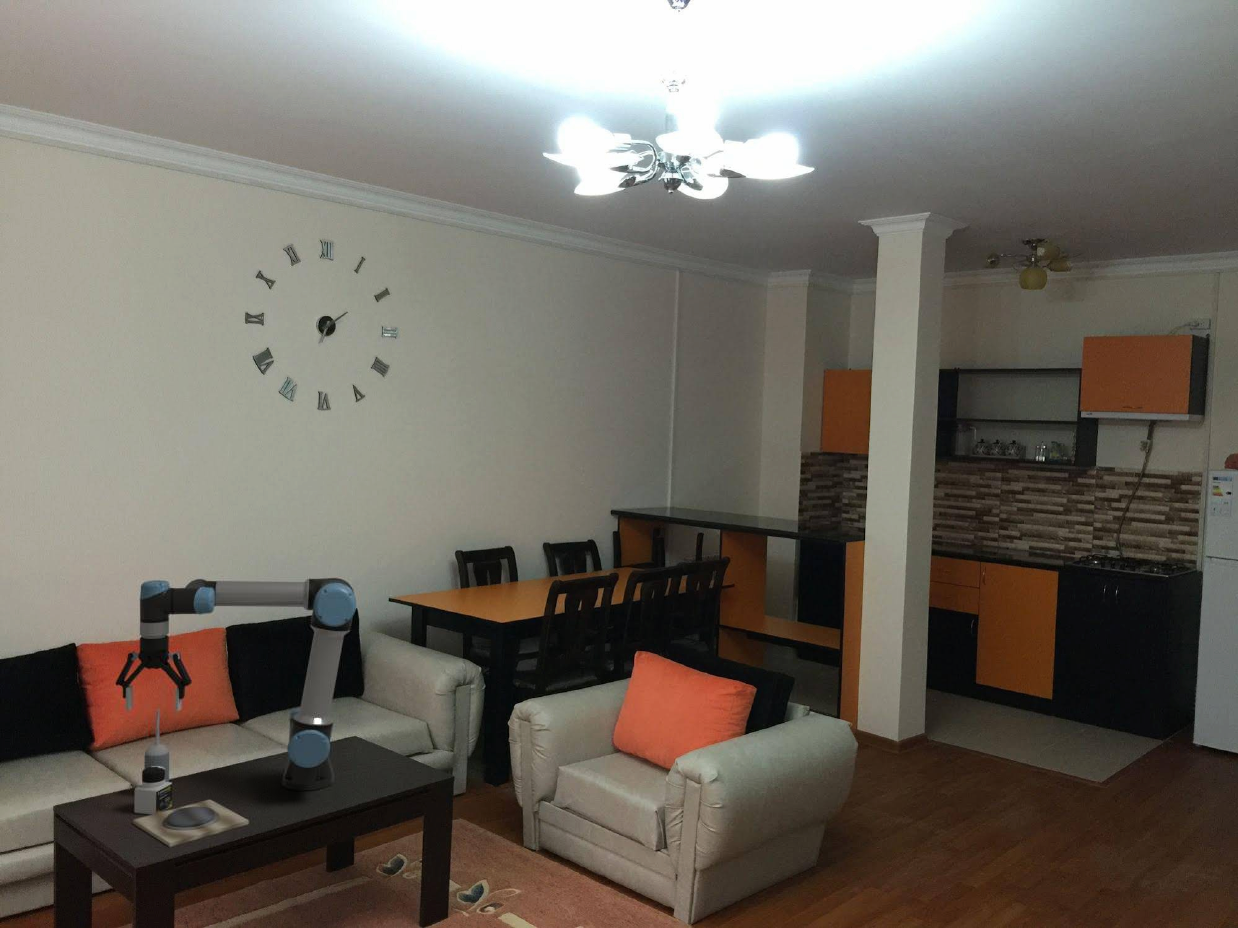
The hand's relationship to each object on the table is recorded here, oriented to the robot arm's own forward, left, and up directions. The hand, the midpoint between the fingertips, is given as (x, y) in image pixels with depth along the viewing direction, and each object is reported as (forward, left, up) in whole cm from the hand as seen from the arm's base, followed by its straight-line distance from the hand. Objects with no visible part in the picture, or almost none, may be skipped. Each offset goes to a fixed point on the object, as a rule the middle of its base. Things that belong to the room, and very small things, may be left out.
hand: (153, 709), depth 292 cm
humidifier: (+4, -12, -29) cm, 32 cm away
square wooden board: (-14, +11, -29) cm, 34 cm away
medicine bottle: (0, +1, -29) cm, 29 cm away
